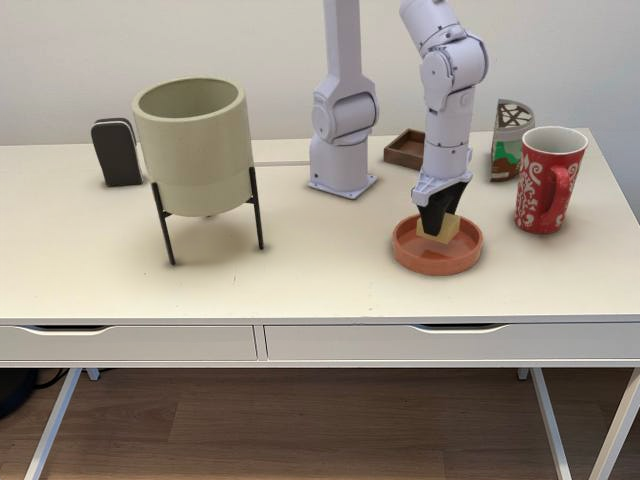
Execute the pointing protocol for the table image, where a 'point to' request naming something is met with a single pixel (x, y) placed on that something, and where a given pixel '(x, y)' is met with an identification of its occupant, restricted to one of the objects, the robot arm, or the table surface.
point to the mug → (547, 177)
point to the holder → (406, 149)
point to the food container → (509, 138)
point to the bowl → (436, 248)
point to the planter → (197, 148)
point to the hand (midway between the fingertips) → (438, 226)
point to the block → (442, 229)
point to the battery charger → (116, 151)
